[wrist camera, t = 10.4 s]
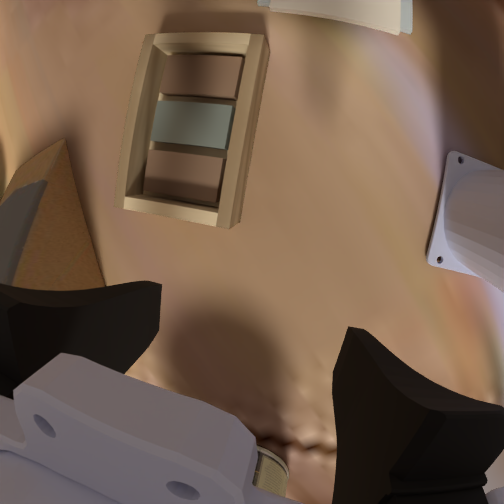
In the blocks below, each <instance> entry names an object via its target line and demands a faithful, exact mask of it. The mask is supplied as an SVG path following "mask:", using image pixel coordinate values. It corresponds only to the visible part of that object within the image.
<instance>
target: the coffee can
mask: <svg viewBox="0 0 504 504" xmlns="http://www.w3.org/2000/svg"><path fill="white" fill-rule="evenodd" d="M257 453H258V460H257V464H256V468H255V473H254V477H253V482H252V484H253V485H254V486H256V487H259V488H261V489H264V490H266V491H269V492H272V493H274V494H277V495H280V496H283V497H285V495H286V487H287V481H288V478H289V471H288V468H287V466H286V464H285V463H284V462H283V461H282V459H281V458H280V457H278V456H277V455H275V454H274V453H272V452H270V451H269V450H267V449H265V448H262V447H260V446H257Z"/></svg>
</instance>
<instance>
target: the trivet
mask: <svg viewBox="0 0 504 504" xmlns="http://www.w3.org/2000/svg"><path fill="white" fill-rule="evenodd" d="M270 1H271V0H258V1H257V4H258V6H267V7H269V5H270ZM400 31H401V32H404V33H407V34H411V33H412V0H401V20H400Z"/></svg>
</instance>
